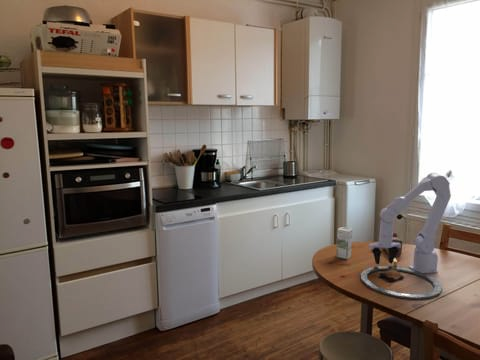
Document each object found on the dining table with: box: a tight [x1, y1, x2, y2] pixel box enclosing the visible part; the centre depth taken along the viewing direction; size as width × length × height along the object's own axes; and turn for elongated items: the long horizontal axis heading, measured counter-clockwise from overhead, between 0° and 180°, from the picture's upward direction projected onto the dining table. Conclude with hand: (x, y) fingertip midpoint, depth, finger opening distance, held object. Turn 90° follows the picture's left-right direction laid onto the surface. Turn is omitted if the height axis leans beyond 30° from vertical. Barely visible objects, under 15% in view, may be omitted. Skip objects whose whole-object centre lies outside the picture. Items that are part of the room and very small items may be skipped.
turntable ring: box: [360, 257, 443, 300], centre depth 167 cm, size 31×36×3 cm
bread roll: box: [377, 270, 406, 283], centre depth 170 cm, size 11×8×4 cm
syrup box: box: [336, 226, 353, 260], centre depth 193 cm, size 6×6×14 cm
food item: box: [384, 232, 403, 257], centre depth 202 cm, size 14×8×10 cm, turn 174°
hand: (383, 263), depth 181 cm, fingers open, 6 cm apart
